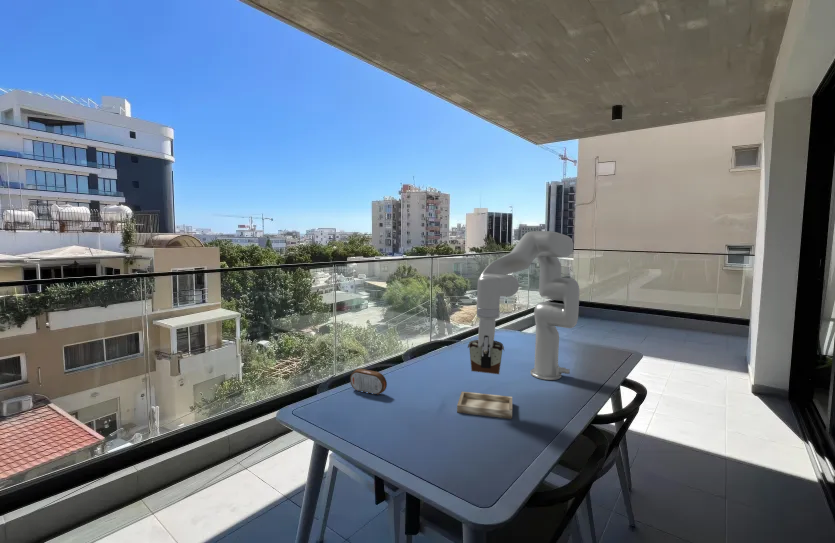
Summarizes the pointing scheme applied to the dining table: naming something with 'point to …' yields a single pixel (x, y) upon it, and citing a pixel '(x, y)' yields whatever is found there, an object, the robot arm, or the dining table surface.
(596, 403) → the dining table surface
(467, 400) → the holder tray
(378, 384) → the tin
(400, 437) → the dining table surface
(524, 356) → the dining table surface
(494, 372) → the food container
